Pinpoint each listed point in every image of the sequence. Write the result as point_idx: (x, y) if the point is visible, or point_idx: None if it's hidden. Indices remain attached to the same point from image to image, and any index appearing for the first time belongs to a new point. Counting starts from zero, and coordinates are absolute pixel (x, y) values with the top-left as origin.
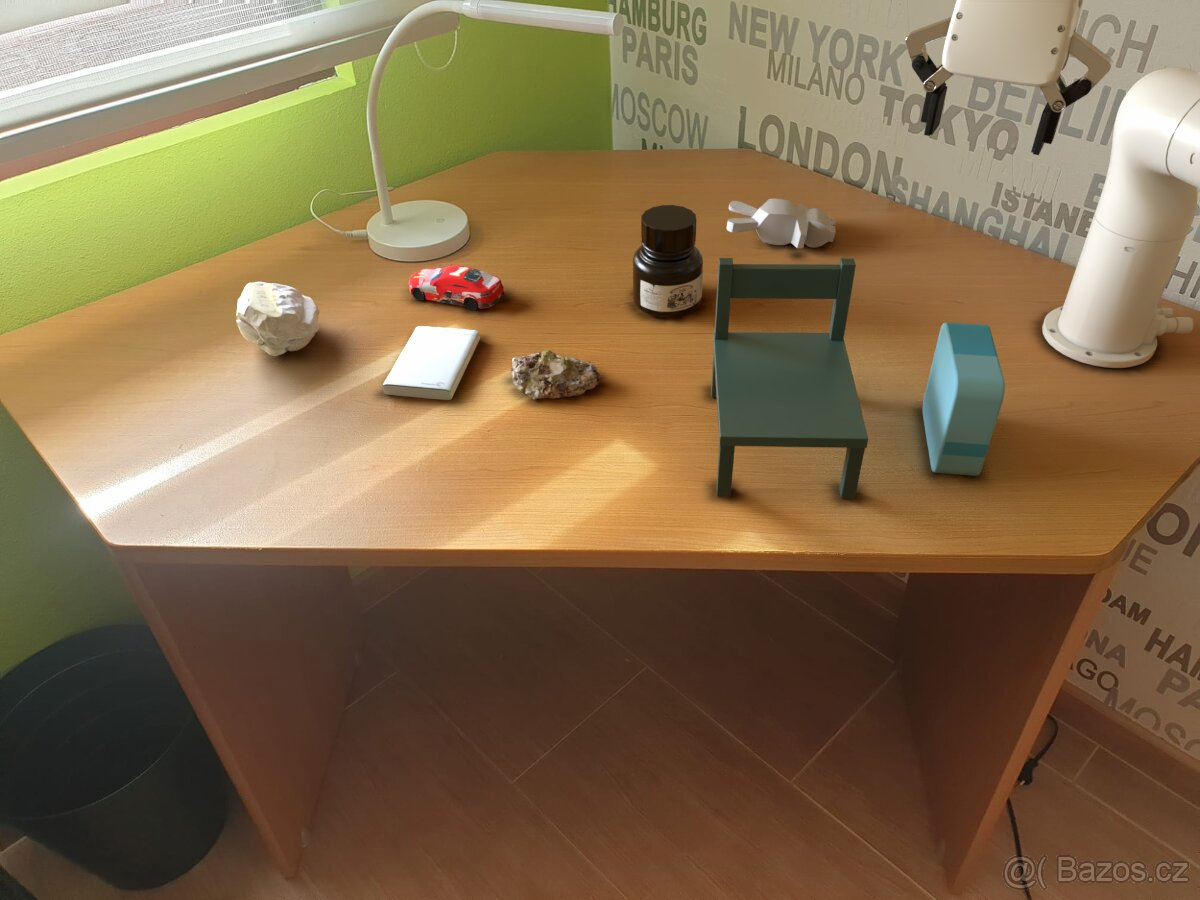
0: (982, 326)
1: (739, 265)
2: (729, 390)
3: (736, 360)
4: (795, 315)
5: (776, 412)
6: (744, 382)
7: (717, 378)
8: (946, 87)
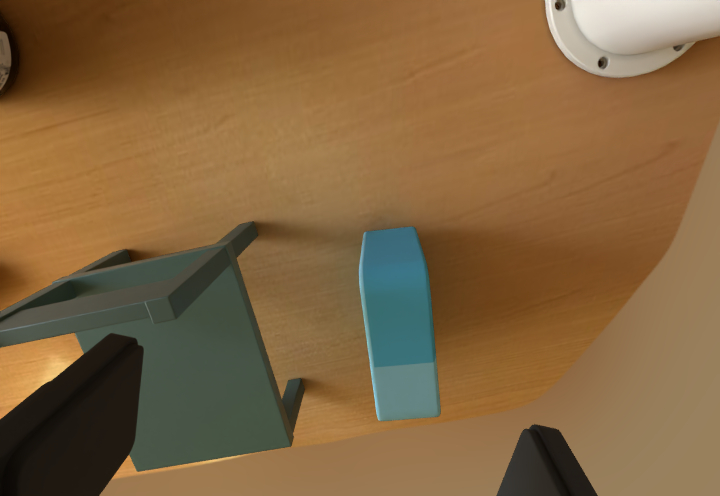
0: (417, 290)
1: None
2: None
3: None
4: (166, 37)
5: (183, 425)
6: None
7: None
8: (18, 491)
